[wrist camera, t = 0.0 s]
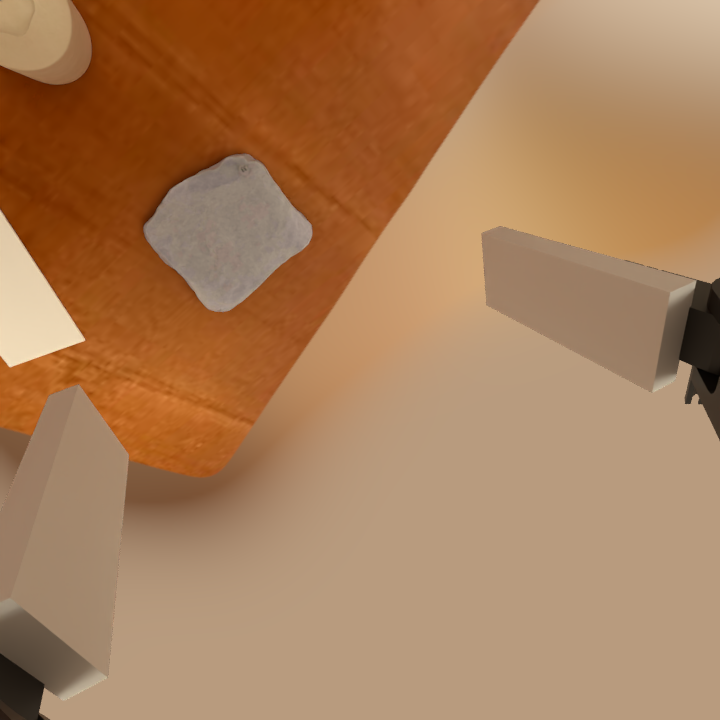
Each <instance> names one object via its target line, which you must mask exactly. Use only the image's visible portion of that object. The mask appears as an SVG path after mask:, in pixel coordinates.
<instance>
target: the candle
mask: <svg viewBox="0 0 720 720" xmlns="http://www.w3.org/2000/svg"><path fill="white" fill-rule="evenodd" d="M91 55H92V44H91V38H90V34H89V31H88V29H87V26H86V24H85V22H84V20H83V18H82V16H81V15H80V13H79V12H78V10H77V9H76V7H75V6H74V4H73V3H72V1H71V0H0V65H1V66H3V67H5V68H8V69H10V70H13V71H15V72H17V73H20V74H22V75H25V76H27V77H29V78H32V79H34V80H37V81H40V82H43V83H48V84H55V85H59V84H67V83H70V82H73V81H75V80H77V79H78V78H80V77H81V76H82V75H83V74H84V73H85V71H86V70H87V68H88V66H89V64H90V61H91Z"/></svg>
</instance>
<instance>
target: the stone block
mask: <svg viewBox="0 0 720 720" xmlns="http://www.w3.org/2000/svg"><path fill="white" fill-rule="evenodd" d="M143 229H144V234H145V238H146V240H147V241H148V243H149V244H150V245H151V247H152V248H153V249H154V250H155V252H156V253H158V254H159V257H160V258H161V259H162V260H163V261H164V262H165V264H167V265H169V266H170V267H172V268H173V269H175V270H176V271H177V272H178V273H179V274H180V275H181V276H182V277H183V278H184V279H185V281H186V282H187V283H188V285H189V286H190V287H191V289H192V290H193V291H194V292H195V293H196V295H197V297H198V299H199V300H200V301H201V302H202V303H203V304H204V306H205V307H206V308H207V309H209V310H212V311H215V312H224V311H230V310H231V309H232V308H234V307H235V306H236V305H238V304H239V303H241V302H242V301H243V300H244V299H246V298H247V297H248V296H249V295H250V294H251V293H252V292H253V291H255V290H256V289H257V288H258V287H259V286H260V285H261V284H262V283H263V282H264V281H265V280H266V279H267V278H268V277H269V276H270V275H271V274H272V273H273V272H274V271H275V270H276V269H277V268H278V267H279V266H280V265H281V264H283V263H284V262H286V261H287V260H288V259H289V258H290V257H292V256H293V255H295V254H297V253H298V252H300V251H301V250H303V249H304V248H305V247H306V246H307V245H308V244H309V242H310V240H311V237H312V225H311V224H310V223H309V222H308V221H307V219H306V218H305V216H304V215H303V214H302V213H301V212H300V211H298V210H296V208H295V207H293V206H292V204H291V203H290V202H289V200H288V199H287V198H286V196H285V195H284V194H283V192H282V191H281V189H280V188H279V186H278V185H277V184H276V183H275V181H274V180H273V179H272V177H271V176H270V174H269V172H268V170H267V169H266V167H265V166H264V165H263V164H262V163H261V162H260V161H258V160H256V159H254V158H253V157H252V156H251V155H249V154H235V155H232V156H228V157H226V158H224V159H223V160H221V161H220V162H219V163H217V164H215V165H213V166H212V167H210V168H208V169H205V170H202V171H199V172H198V173H197V174H196V175H194V176H192V177H189V178H188V179H185V180H184V181H183V182H181V183H179V184H177V185H176V186H174V187H172V188H171V189H170V190H169V191H168V193H167V195H166V196H165V197H164V199H163V200H162V202H161V204H160V205H159V206H158V207H157V209H156V212H155V214H154V215H153V216H152V217H151V218H150V219H149V220H148V221H147V222H146V223H145V225H144V228H143Z"/></svg>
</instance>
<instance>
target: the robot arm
mask: <svg viewBox="0 0 720 720" xmlns="http://www.w3.org/2000/svg"><path fill="white" fill-rule="evenodd" d="M482 247H483V262H484V276H485V290H486V304H487V306H489V307H491V308H493V309H495V310H497V311H499V312H500V313H502V314H504V315H506V316H508V317H510V318H512V319H514V320H516V321H517V322H520V323H521V324H523V325H525V326H527V327H529V328H531V329H532V330H534V331H536V332H538V333H540V334H542V335H544V336H546V337H548V338H549V339H551V340H553V341H555V342H557V343H559V344H561V345H563V346H565V347H566V348H568V349H570V350H572V351H574V352H576V353H578V354H580V355H581V356H584V357H585V358H587V359H589V360H591V361H593V362H595V363H597V364H598V365H600V366H602V367H604V368H606V369H608V370H610V371H612V372H614V373H615V374H617V375H619V376H621V377H623V378H625V379H627V380H629V381H631V382H632V383H634V384H636V385H638V386H640V387H642V388H644V389H646V390H648V391H649V392H651V393H653V392H655V391H657V390H659V389H661V388H662V387H664V386H666V385H668V384H670V383H672V382H674V381H675V378H676V374H677V369H678V364H679V360H681V361H684V362H686V363H688V364H690V365H692V369H691V374H690V378H689V382H688V387H687V391H686V395H685V404H690V403H691V400H692V397H693V396H694V395H695V394H698V395H699V401H698V404H703V406H704V408H705V410H706V412H707V415H708V417H709V418H710V421H711V423H712V425H713V427H714V429H715V431H716V433H717V435H718V438H719V439H720V278H719V279H716V280H715V281H714V282H713V283H712V284H710V283H706V282H703V281H699V280H696V279H692V278H688V277H685V276H681V275H677V274H674V273H670V272H667V271H663V270H658V269H656V268H652V267H648V266H647V267H646V266H644V265H641V264H638V263H634V262H630V261H627V260H621V259H617V258H614V257H610V256H607V255H603V254H599V253H596V252H592V251H589V250H585V249H581V248H578V247H574V246H571V245H567V244H563V243H560V242H556V241H552V240H549V239H545V238H542V237H538V236H534V235H531V234H527V233H524V232H520V231H516V230H513V229H509V228H506V227H502V226H499V227H496V228H494V229H491V230H489V231H486V232H483V233H482ZM128 461H129V454H128V453H127V452H126V450H125V449H124V447H123V446H122V444H121V443H120V442H119V440H118V439H117V437H116V436H115V435H114V433H113V432H112V430H111V429H110V428H109V426H108V425H107V423H106V422H105V421H104V419H103V418H102V416H101V415H100V414H99V412H98V411H97V409H96V408H95V406H94V405H93V404H92V402H91V401H90V399H89V398H88V397H87V395H86V394H85V392H84V391H83V390H82V388H81V387H80V385H79V384H78V385H75V386H73V387H70V388H67V389H65V390H62V391H59V392H57V393H54V394H51V395H49V397H48V399H47V402H46V404H45V406H44V409H43V411H42V413H41V416H40V418H39V421H38V423H37V425H36V428H35V430H34V433H33V435H32V437H31V440H30V442H29V445H28V447H27V449H26V452H25V454H24V456H23V459H22V461H21V464H20V466H19V468H18V471H17V473H16V476H15V478H14V480H13V483H12V485H11V488H10V490H9V492H8V495H7V497H6V499H5V502H4V504H3V507H2V509H1V511H0V720H50V719H48V718H47V717H45V716H44V715H42V714H40V713H39V709H40V705H41V700H42V695H43V690H44V688H46V689H47V690H49V691H50V692H52V693H53V694H55V695H56V696H58V697H59V698H60V699H62V700H63V701H65V700H66V699H68V698H71V697H72V696H74V695H76V694H78V693H80V692H82V691H84V690H86V689H88V688H90V687H92V686H93V685H95V684H97V683H99V682H101V681H103V680H105V679H107V678H108V672H109V661H110V651H111V641H112V630H113V619H114V609H115V598H116V588H117V577H118V566H119V555H120V545H121V535H122V524H123V513H124V503H125V492H126V482H127V470H128Z"/></svg>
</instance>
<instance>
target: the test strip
mask: <svg viewBox="0 0 720 720" xmlns="http://www.w3.org/2000/svg"><path fill="white" fill-rule="evenodd" d="M85 340H86V339H85V338H84V336H83V335H82V333H81V332H80V330H79V328H78V327H77V325H76V324H75V322H74V321H73V319H72V318H71V316H70V315H69V313H68V312H67V310H66V309H65V307H64V306H63V304H62V303H61V301H60V299H59V298H58V296H57V295H56V293H55V292H54V290H53V289H52V287H51V286H50V284H49V283H48V281H47V280H46V278H45V277H44V275H43V273H42V272H41V270H40V269H39V267H38V266H37V264H36V263H35V261H34V260H33V258H32V257H31V255H30V254H29V252H28V251H27V249H26V247H25V246H24V244H23V243H22V241H21V240H20V238H19V237H18V235H17V234H16V232H15V231H14V229H13V228H12V226H11V225H10V223H9V221H8V220H7V218H6V217H5V215H4V214H3V212H2V211H1V209H0V356H1V357H2V358H3V359H4V361H5V362H6V363H7V364H8V366H9V367H12V366H15V365H18V364H21V363H23V362H26V361H29V360H32V359H35V358H38V357H40V356H43V355H46V354H49V353H52V352H54V351H57V350H60V349H63V348H66V347H68V346H71V345H74V344H77V343H80V342H83V341H85Z"/></svg>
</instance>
